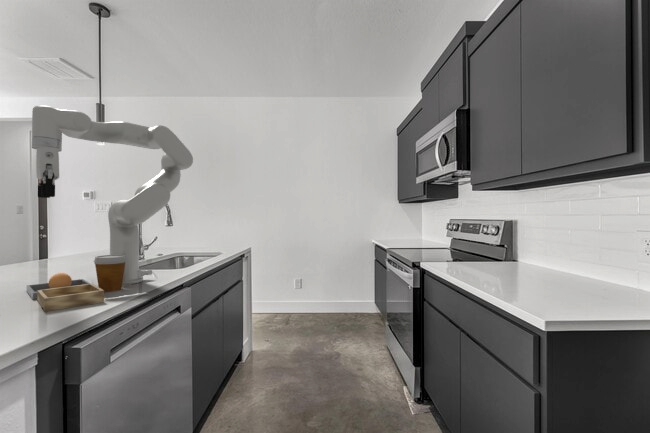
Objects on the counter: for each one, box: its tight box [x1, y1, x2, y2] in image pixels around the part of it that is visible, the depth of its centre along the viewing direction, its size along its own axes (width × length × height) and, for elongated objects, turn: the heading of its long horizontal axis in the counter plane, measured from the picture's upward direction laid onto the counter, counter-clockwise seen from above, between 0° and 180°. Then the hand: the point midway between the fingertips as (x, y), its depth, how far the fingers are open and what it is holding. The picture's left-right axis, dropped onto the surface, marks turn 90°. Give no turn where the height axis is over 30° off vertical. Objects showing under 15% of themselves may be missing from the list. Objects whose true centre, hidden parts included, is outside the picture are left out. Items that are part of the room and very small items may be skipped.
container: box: [26, 278, 92, 301], centre depth 108 cm, size 15×15×2 cm
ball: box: [48, 272, 73, 289], centre depth 108 cm, size 6×6×6 cm
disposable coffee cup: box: [93, 254, 127, 293], centre depth 111 cm, size 10×10×12 cm
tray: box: [36, 283, 105, 312], centre depth 97 cm, size 14×14×4 cm
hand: (46, 197), depth 107 cm, fingers open, 9 cm apart
